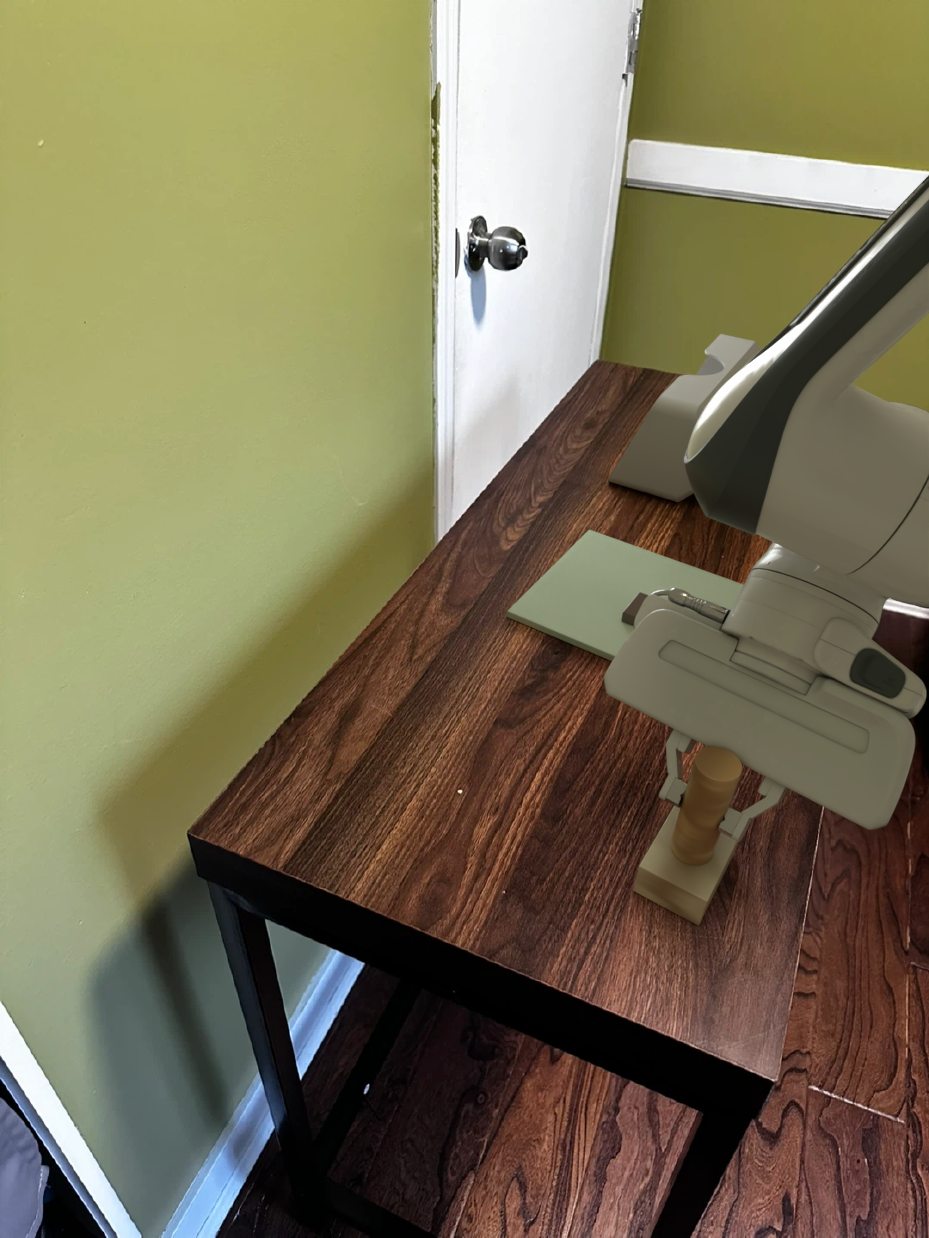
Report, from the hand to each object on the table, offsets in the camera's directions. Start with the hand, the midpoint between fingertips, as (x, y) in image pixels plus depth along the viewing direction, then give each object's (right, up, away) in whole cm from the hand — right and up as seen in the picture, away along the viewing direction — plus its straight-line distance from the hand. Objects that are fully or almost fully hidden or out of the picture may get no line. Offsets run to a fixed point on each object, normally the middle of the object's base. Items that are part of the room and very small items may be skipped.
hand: (698, 819), depth 58 cm
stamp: (0, -5, +5) cm, 7 cm away
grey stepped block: (+15, +34, +53) cm, 65 cm away
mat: (+2, +15, +29) cm, 33 cm away
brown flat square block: (+2, +14, +26) cm, 30 cm away
